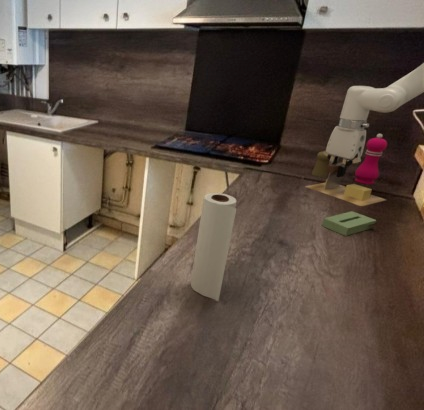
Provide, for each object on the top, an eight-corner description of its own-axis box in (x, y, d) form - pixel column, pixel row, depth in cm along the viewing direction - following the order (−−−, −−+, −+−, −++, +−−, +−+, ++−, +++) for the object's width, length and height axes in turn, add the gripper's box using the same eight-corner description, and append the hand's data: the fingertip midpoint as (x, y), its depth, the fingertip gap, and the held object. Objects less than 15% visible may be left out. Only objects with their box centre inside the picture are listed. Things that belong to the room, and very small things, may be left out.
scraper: (342, 187, 132) (350, 163, 128) (326, 190, 128) (333, 166, 125) (336, 185, 134) (344, 162, 130) (320, 188, 130) (327, 164, 127)
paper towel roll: (191, 277, 82) (205, 190, 73) (219, 283, 80) (236, 194, 71) (188, 295, 76) (202, 202, 67) (218, 302, 74) (236, 207, 65)
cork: (323, 181, 142) (331, 154, 138) (307, 177, 147) (314, 151, 142) (329, 178, 146) (337, 152, 142) (313, 174, 150) (320, 149, 146)
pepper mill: (355, 186, 137) (372, 135, 130) (349, 180, 144) (365, 131, 136) (377, 188, 135) (396, 136, 127) (370, 182, 142) (387, 132, 134)
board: (385, 203, 122) (387, 199, 122) (360, 210, 117) (361, 206, 116) (328, 185, 139) (329, 181, 138) (304, 190, 134) (305, 186, 133)
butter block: (368, 198, 122) (372, 189, 121) (361, 200, 121) (364, 191, 119) (350, 192, 127) (353, 183, 126) (343, 194, 126) (346, 185, 124)
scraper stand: (373, 227, 105) (376, 220, 104) (345, 236, 101) (348, 228, 100) (349, 218, 111) (351, 211, 110) (321, 225, 106) (324, 218, 106)
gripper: (383, 127, 116) (365, 181, 124) (335, 119, 130) (321, 168, 137) (369, 129, 114) (352, 183, 121) (321, 121, 127) (308, 170, 134)
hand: (335, 175), depth 129 cm, fingers closed on scraper, 2 cm apart
